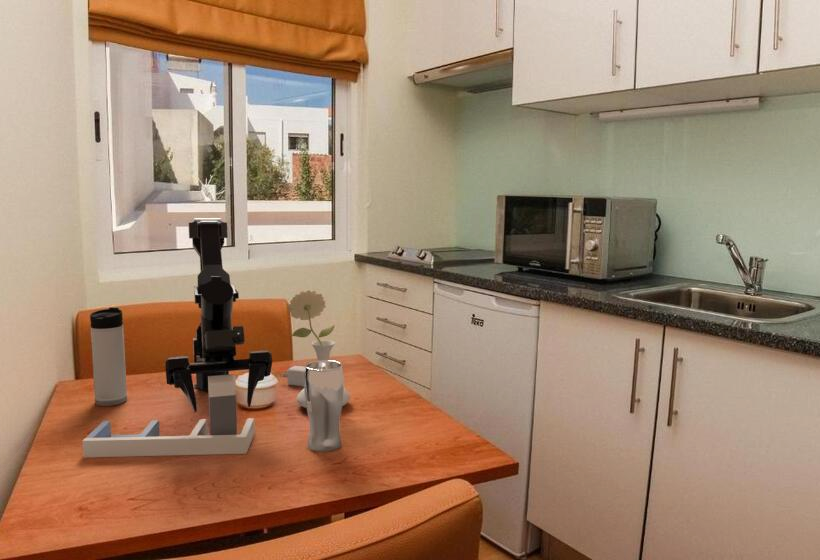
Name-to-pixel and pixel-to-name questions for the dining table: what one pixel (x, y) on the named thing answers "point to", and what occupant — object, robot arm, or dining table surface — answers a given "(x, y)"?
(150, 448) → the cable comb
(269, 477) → the dining table surface
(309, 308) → the flower in vase
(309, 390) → the beer glass
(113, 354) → the travel mug
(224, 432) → the grey tall block
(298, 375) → the usb wall charger
